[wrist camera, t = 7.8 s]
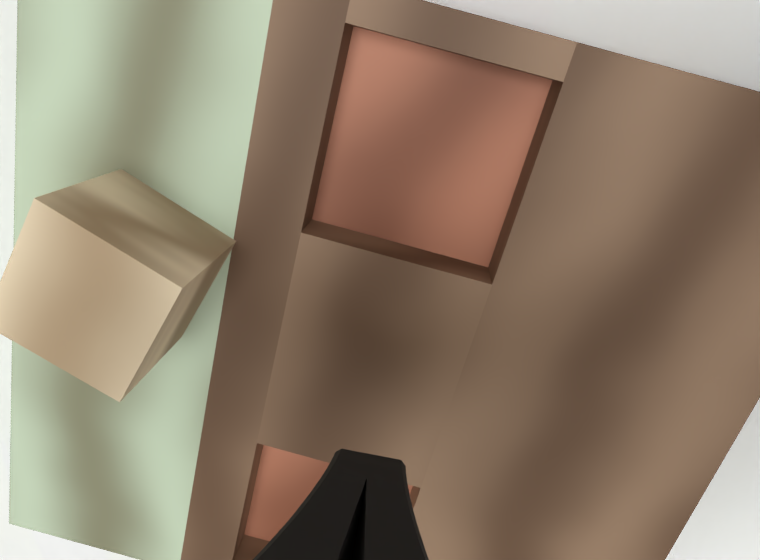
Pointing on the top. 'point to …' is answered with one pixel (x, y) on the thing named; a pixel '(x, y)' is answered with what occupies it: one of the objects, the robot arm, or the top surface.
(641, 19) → the top surface
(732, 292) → the trap deck
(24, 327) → the maple block
